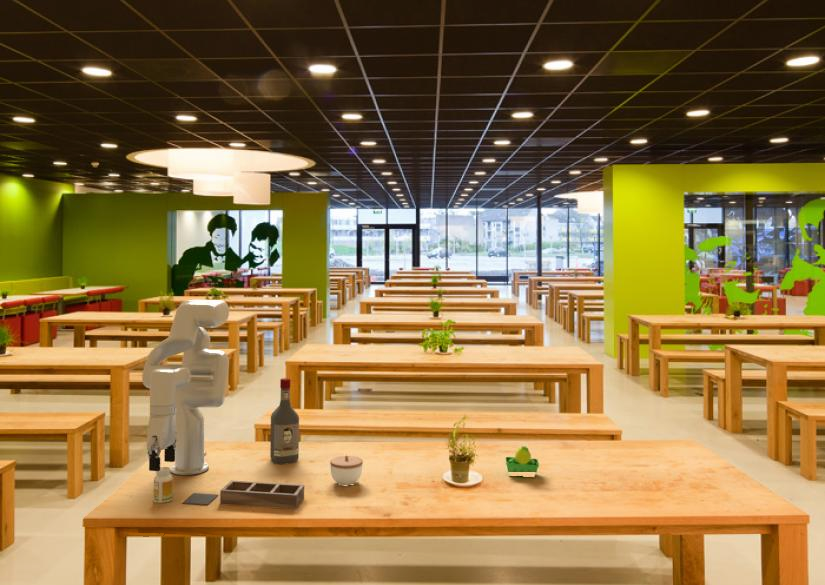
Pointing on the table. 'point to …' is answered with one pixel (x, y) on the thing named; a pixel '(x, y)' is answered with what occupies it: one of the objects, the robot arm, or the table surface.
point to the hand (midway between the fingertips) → (162, 466)
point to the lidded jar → (346, 469)
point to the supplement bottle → (163, 485)
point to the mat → (200, 499)
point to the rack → (262, 494)
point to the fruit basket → (522, 461)
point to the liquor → (284, 429)
